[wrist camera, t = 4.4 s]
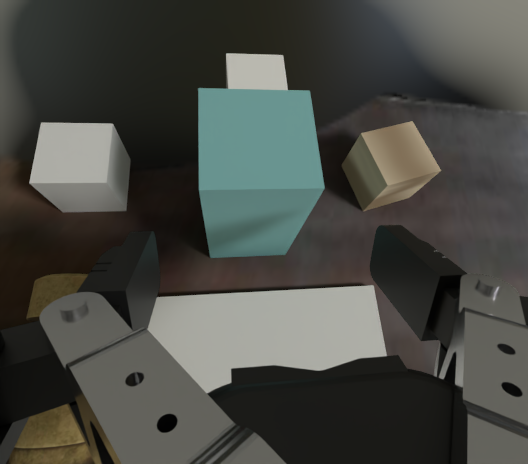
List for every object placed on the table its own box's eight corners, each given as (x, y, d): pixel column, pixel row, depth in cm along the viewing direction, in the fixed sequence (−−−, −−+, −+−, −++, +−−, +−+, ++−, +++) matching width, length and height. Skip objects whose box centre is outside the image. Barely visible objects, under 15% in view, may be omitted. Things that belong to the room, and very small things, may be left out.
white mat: (0, 623, 15) (-9, 634, 14) (48, 304, 19) (43, 303, 19) (418, 553, 17) (425, 560, 16) (369, 287, 22) (373, 285, 21)
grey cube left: (63, 212, 21) (29, 183, 18) (71, 160, 23) (41, 122, 19) (126, 211, 22) (106, 182, 18) (130, 160, 23) (112, 123, 20)
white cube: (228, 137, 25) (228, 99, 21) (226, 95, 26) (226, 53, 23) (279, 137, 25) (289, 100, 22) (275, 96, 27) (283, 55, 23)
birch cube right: (362, 211, 24) (387, 185, 20) (340, 166, 25) (360, 133, 21) (408, 198, 25) (441, 170, 21) (385, 154, 26) (412, 121, 22)
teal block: (210, 257, 21) (198, 190, 13) (209, 189, 23) (198, 87, 14) (285, 254, 22) (324, 188, 13) (278, 188, 24) (309, 90, 15)
